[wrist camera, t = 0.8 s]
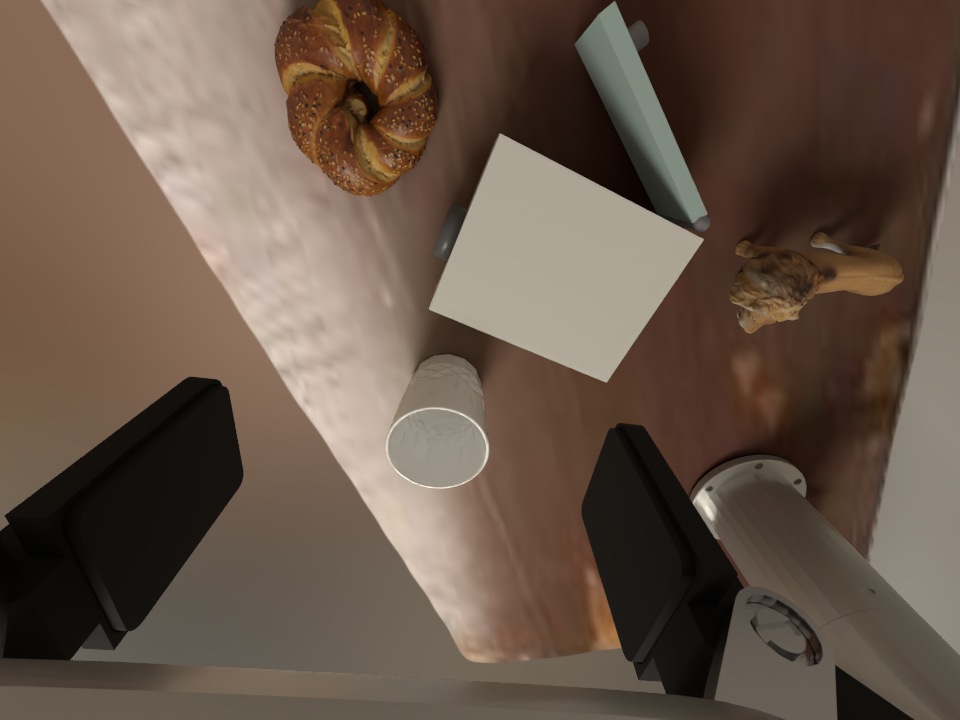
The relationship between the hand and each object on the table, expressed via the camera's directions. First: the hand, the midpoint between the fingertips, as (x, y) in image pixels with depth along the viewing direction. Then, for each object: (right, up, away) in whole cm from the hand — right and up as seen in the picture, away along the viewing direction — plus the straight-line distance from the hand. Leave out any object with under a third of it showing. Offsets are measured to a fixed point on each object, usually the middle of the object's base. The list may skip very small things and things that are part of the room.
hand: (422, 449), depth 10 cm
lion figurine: (+27, +10, +24) cm, 37 cm away
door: (+13, +19, +19) cm, 30 cm away
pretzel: (-7, +21, +19) cm, 29 cm away
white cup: (-2, 0, +29) cm, 29 cm away
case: (+7, +11, +23) cm, 26 cm away
